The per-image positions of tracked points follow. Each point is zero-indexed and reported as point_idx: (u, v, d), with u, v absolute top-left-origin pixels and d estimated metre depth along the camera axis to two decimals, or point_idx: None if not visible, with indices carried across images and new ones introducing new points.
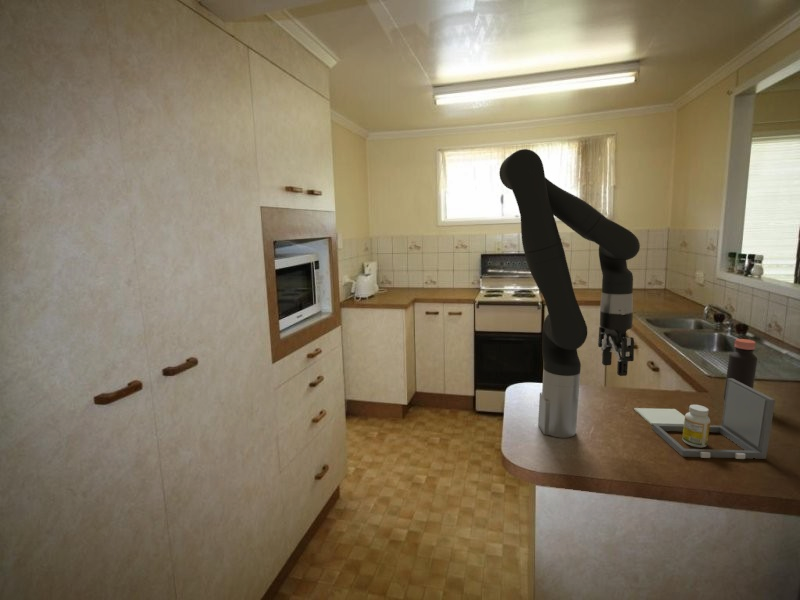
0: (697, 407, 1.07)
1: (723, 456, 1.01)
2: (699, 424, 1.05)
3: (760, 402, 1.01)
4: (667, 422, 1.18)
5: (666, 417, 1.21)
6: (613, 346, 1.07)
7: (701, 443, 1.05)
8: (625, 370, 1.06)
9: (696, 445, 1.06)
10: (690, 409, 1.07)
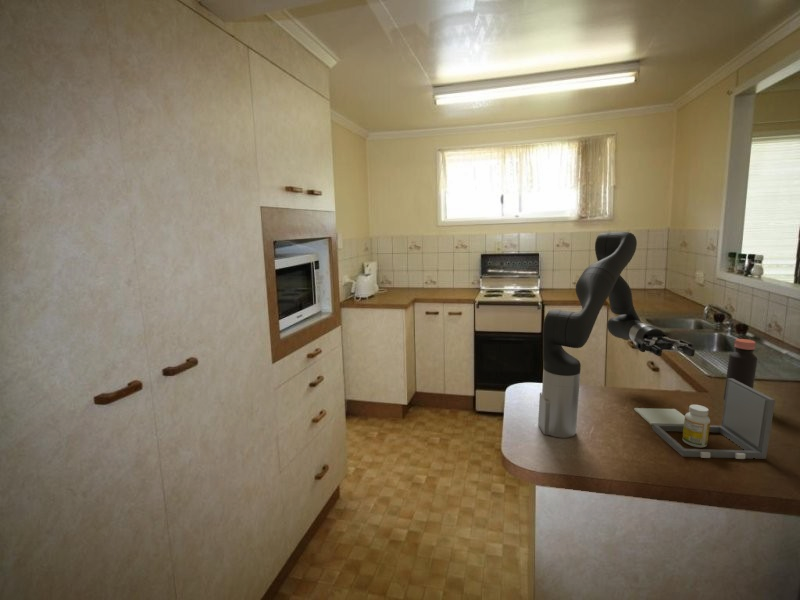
0: (697, 407, 1.07)
1: (723, 456, 1.01)
2: (699, 424, 1.05)
3: (760, 402, 1.01)
4: (667, 422, 1.18)
5: (666, 417, 1.21)
6: (672, 339, 1.23)
7: (701, 443, 1.05)
8: None
9: (696, 445, 1.06)
10: (690, 409, 1.07)
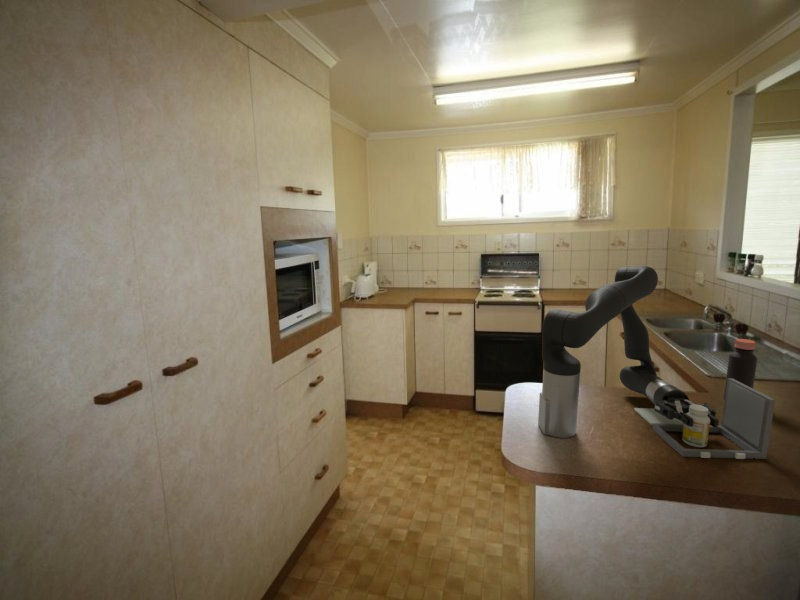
0: (697, 407, 1.07)
1: (723, 456, 1.01)
2: (699, 424, 1.05)
3: (760, 402, 1.01)
4: (667, 422, 1.18)
5: None
6: (694, 404, 1.12)
7: (701, 443, 1.05)
8: None
9: (696, 445, 1.06)
10: (690, 409, 1.07)
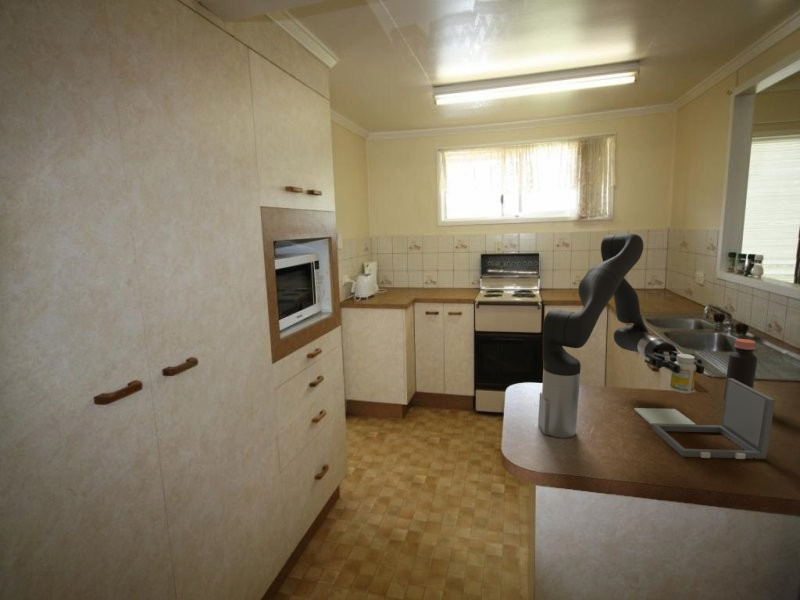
0: (684, 355, 1.13)
1: (723, 456, 1.01)
2: (686, 370, 1.11)
3: (760, 402, 1.01)
4: (667, 422, 1.18)
5: (666, 417, 1.21)
6: None
7: (688, 388, 1.11)
8: None
9: (683, 391, 1.12)
10: (677, 357, 1.13)
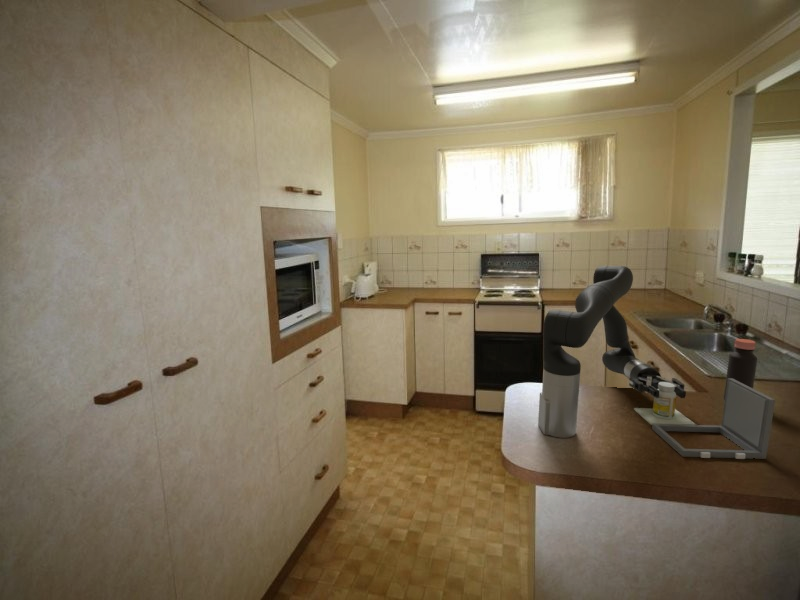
0: (665, 384, 1.21)
1: (723, 456, 1.01)
2: (666, 398, 1.19)
3: (760, 402, 1.01)
4: (667, 422, 1.18)
5: None
6: (665, 379, 1.26)
7: (668, 415, 1.20)
8: None
9: (664, 417, 1.20)
10: (659, 386, 1.21)
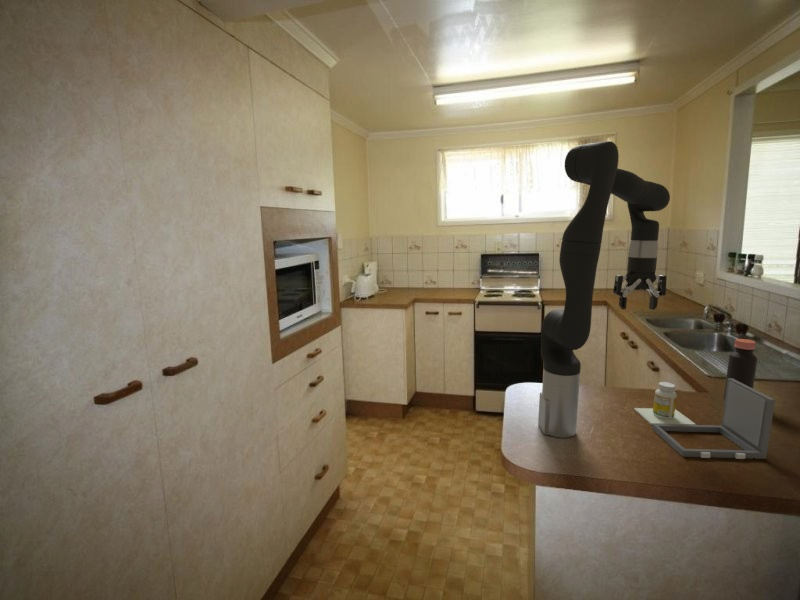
0: (665, 384, 1.21)
1: (723, 456, 1.01)
2: (667, 398, 1.19)
3: (760, 402, 1.01)
4: (667, 422, 1.18)
5: None
6: (651, 286, 1.25)
7: (669, 415, 1.20)
8: None
9: (664, 417, 1.20)
10: (659, 386, 1.21)
